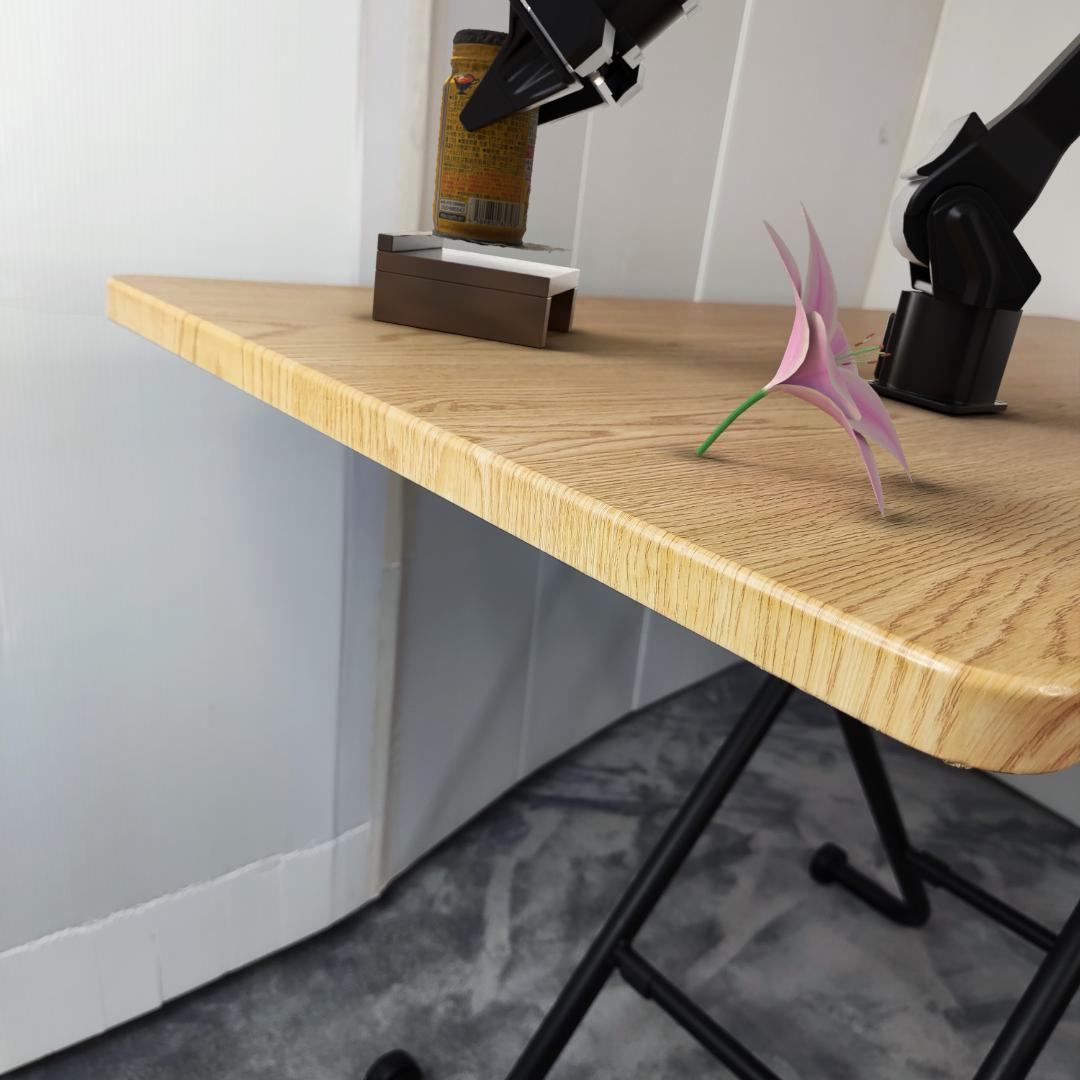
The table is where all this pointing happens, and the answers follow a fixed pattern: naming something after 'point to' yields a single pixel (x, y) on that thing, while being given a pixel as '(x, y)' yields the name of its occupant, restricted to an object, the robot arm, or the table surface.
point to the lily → (826, 364)
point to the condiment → (482, 158)
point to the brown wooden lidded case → (470, 291)
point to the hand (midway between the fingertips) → (478, 129)
